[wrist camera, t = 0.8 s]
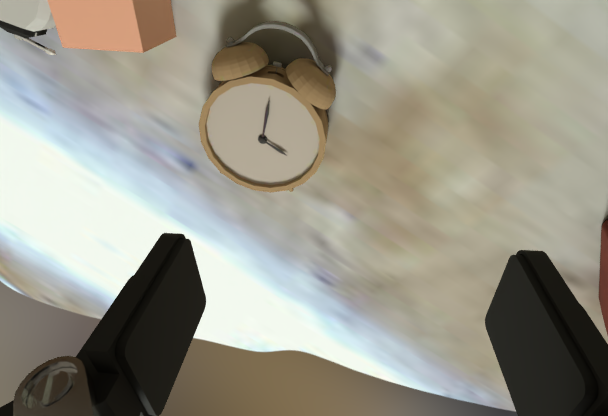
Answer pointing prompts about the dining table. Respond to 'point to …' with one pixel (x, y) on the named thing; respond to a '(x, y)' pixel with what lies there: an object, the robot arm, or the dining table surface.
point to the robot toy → (27, 19)
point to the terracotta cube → (113, 24)
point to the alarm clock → (267, 115)
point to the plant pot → (604, 274)
